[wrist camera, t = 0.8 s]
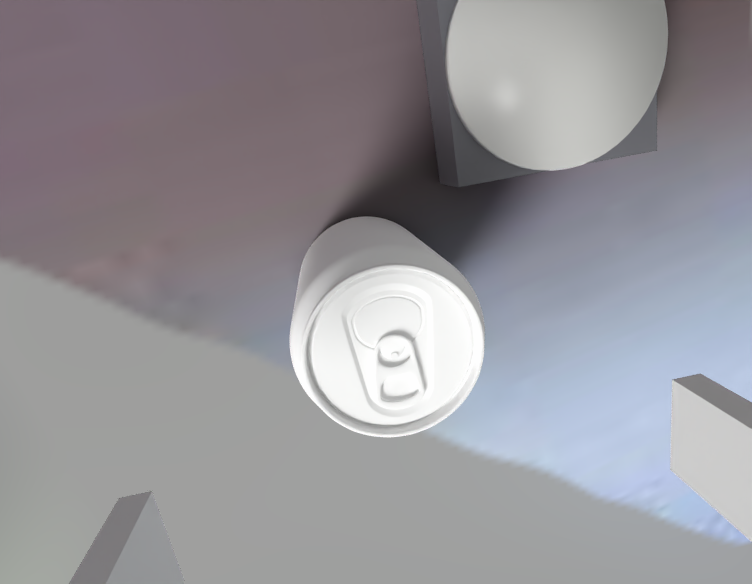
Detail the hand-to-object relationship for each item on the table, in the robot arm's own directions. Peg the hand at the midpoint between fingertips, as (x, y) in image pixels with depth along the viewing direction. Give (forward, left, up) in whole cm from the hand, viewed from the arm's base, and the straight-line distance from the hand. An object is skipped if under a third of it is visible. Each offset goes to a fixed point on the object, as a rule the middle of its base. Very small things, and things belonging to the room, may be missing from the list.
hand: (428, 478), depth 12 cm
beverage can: (0, 0, -19) cm, 19 cm away
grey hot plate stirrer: (-13, +11, -19) cm, 26 cm away
